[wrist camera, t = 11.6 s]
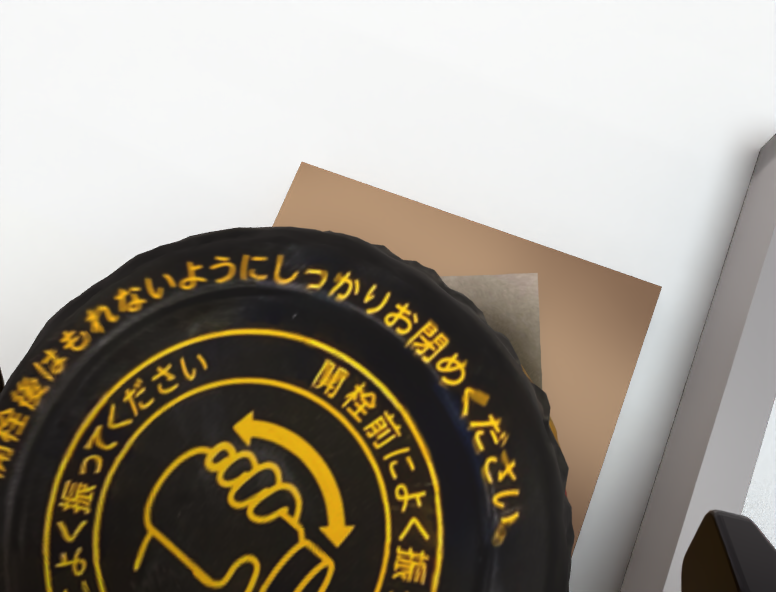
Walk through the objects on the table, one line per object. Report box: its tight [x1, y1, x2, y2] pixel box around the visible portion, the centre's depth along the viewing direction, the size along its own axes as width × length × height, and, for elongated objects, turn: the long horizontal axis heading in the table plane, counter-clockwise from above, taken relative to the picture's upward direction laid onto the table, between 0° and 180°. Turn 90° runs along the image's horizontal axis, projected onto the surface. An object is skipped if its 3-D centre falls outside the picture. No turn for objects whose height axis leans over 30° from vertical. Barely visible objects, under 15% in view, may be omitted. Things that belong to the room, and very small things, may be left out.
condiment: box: [0, 226, 575, 592], centre depth 11 cm, size 7×8×12 cm
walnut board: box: [272, 162, 662, 557], centre depth 18 cm, size 12×10×1 cm
